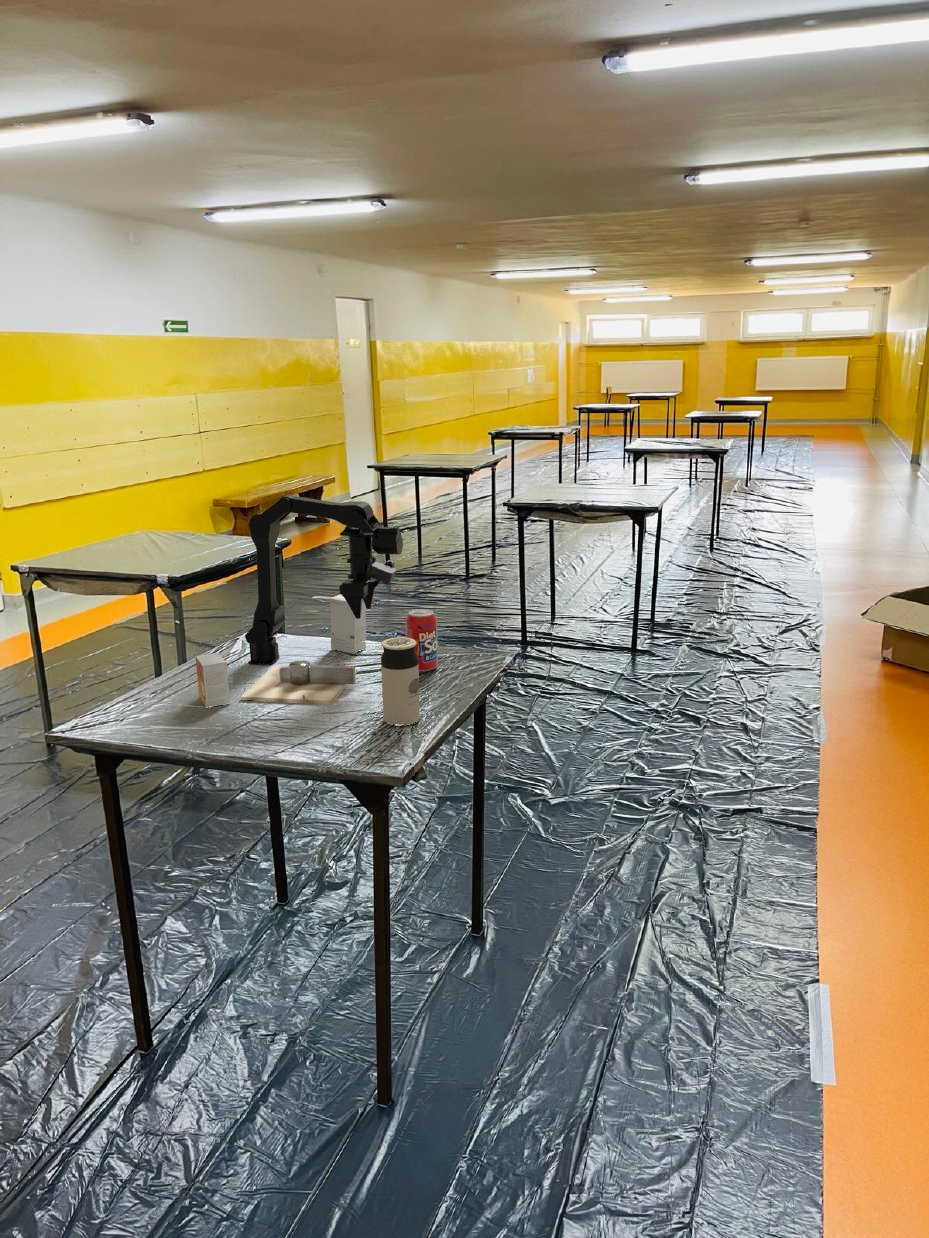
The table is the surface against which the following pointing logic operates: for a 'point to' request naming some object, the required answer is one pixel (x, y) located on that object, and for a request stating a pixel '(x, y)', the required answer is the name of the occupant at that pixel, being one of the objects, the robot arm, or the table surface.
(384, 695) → the travel mug
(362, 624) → the skincare box
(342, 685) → the base plate
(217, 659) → the small box
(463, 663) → the table surface
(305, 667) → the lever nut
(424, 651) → the soda can
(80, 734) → the table surface
